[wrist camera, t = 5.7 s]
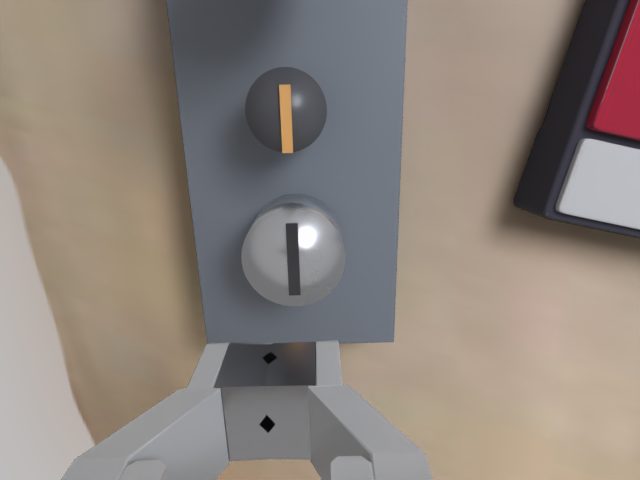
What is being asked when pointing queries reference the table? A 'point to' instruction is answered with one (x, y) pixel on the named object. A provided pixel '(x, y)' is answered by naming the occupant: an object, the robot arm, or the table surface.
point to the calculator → (592, 128)
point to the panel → (293, 155)
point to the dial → (286, 109)
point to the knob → (294, 251)
